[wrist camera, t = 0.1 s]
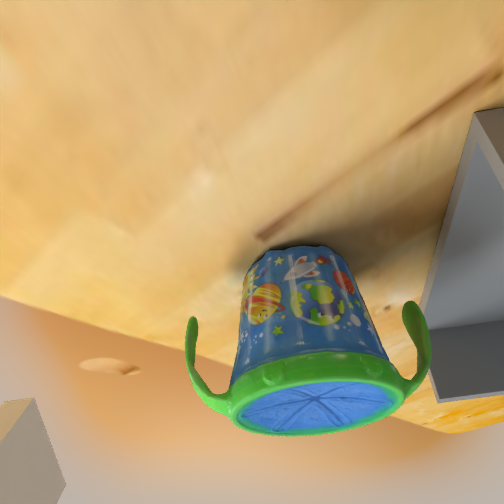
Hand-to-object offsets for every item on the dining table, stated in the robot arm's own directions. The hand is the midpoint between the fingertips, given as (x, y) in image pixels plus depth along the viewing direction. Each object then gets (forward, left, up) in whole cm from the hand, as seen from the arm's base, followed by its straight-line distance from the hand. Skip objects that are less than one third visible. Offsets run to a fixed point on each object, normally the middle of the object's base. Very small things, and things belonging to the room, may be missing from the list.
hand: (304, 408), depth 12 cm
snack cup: (+17, +1, -15) cm, 23 cm away
